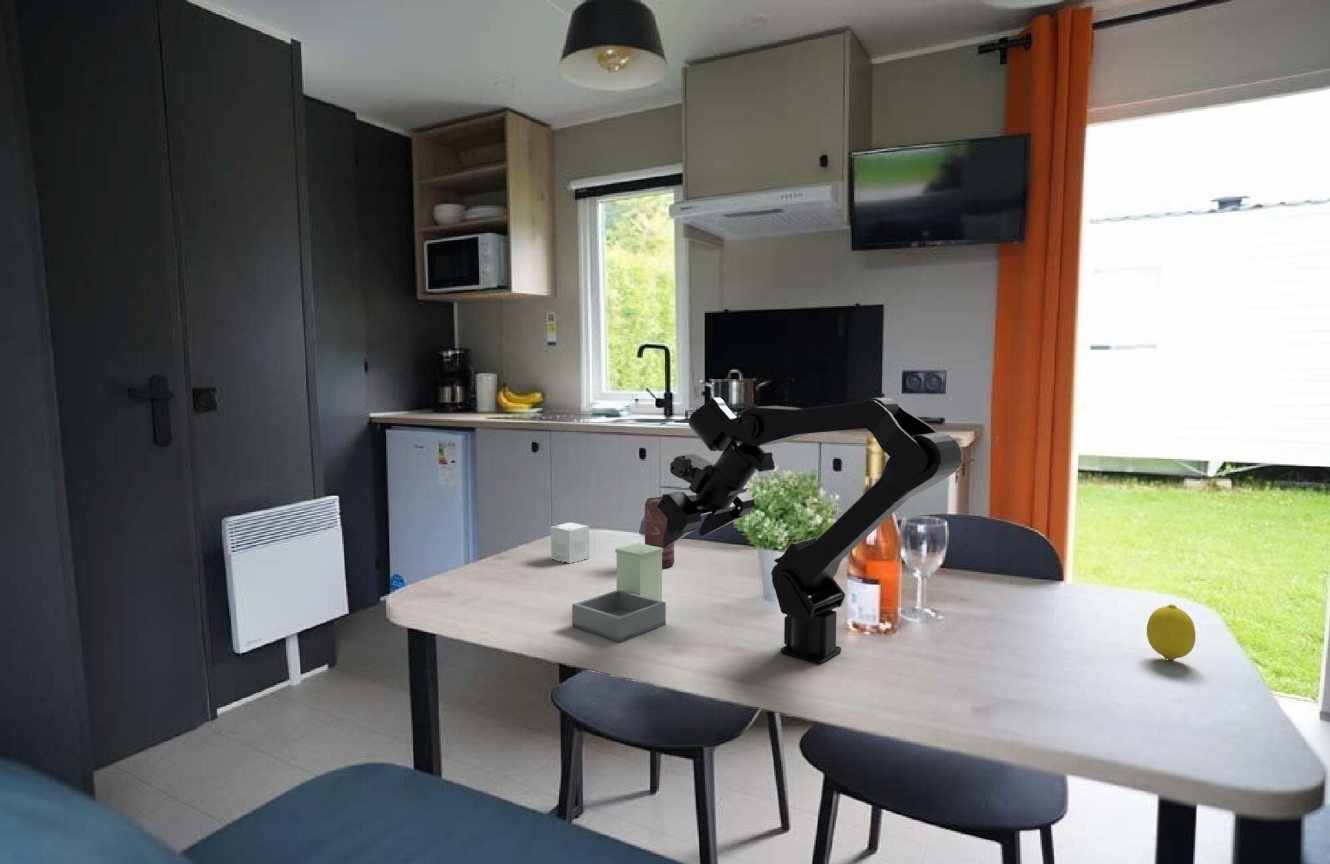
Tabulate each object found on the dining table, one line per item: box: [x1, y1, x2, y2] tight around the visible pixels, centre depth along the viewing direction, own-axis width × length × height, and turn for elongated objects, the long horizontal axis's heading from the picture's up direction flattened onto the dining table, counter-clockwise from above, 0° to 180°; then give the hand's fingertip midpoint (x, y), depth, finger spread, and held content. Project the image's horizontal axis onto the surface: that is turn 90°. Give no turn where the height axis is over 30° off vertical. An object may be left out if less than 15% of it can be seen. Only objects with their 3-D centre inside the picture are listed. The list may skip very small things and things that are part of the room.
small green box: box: [614, 542, 663, 602], centre depth 124 cm, size 6×6×10 cm
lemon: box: [1146, 603, 1196, 661], centre depth 100 cm, size 6×6×8 cm
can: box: [644, 496, 675, 570], centre depth 151 cm, size 6×6×14 cm
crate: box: [571, 589, 667, 644], centre depth 114 cm, size 10×10×4 cm
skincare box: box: [550, 522, 591, 564], centre depth 156 cm, size 6×6×7 cm
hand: (683, 539), depth 119 cm, fingers open, 9 cm apart
